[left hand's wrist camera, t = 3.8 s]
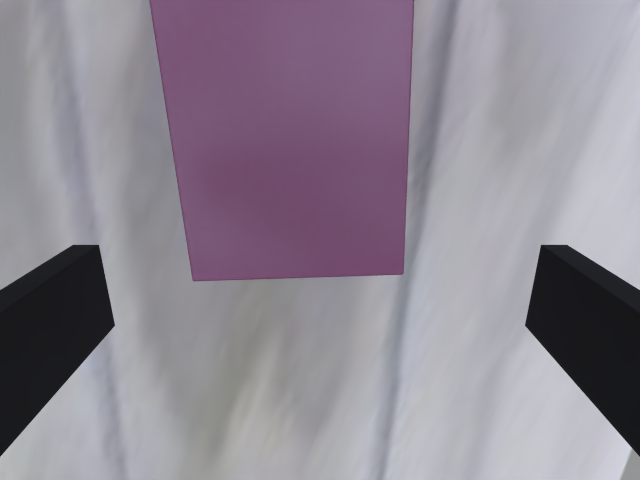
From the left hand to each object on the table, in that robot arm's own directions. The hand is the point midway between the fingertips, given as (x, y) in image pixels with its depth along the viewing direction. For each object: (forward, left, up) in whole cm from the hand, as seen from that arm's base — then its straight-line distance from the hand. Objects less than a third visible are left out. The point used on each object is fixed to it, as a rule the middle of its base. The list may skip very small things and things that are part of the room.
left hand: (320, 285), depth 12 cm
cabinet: (-1, +7, -19) cm, 20 cm away
